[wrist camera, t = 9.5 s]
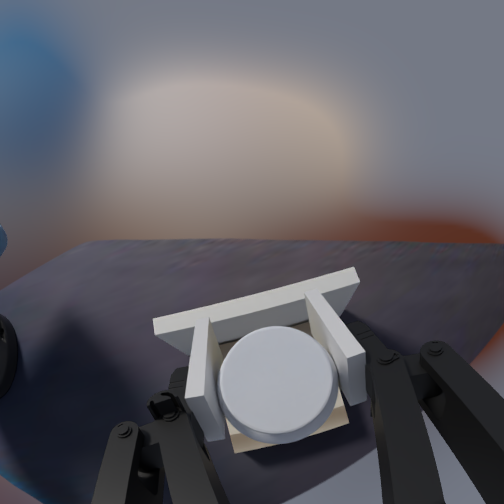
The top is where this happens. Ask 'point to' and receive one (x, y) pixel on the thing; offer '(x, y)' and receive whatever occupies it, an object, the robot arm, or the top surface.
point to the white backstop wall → (257, 310)
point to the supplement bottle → (277, 385)
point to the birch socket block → (246, 444)
